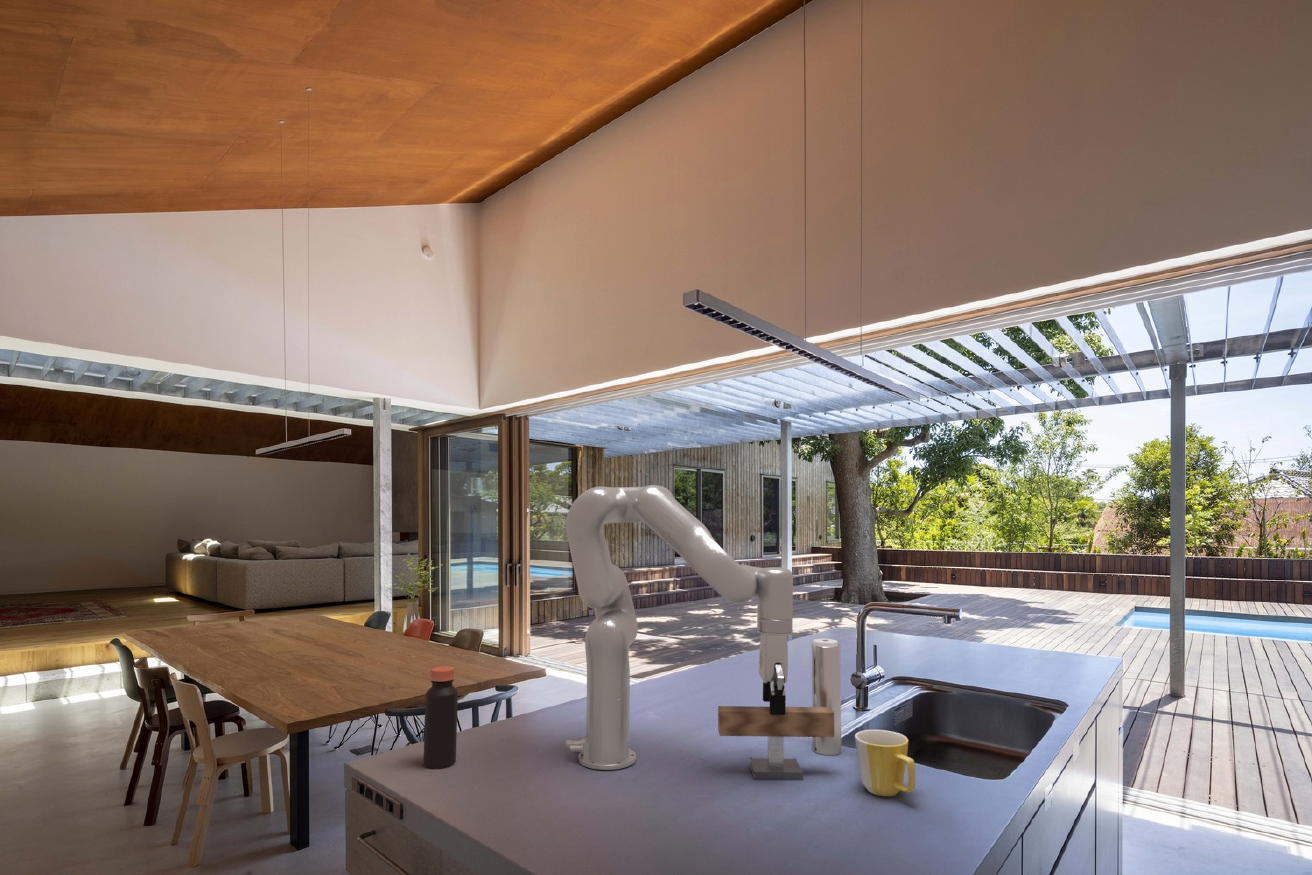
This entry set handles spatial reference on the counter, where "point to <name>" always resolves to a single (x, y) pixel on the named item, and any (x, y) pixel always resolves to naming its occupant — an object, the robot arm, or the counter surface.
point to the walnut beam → (775, 722)
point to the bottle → (440, 719)
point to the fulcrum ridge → (775, 764)
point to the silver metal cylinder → (827, 691)
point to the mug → (884, 762)
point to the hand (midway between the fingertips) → (773, 707)
